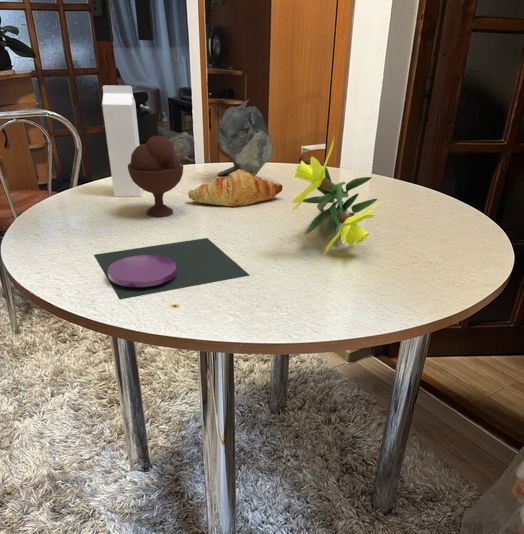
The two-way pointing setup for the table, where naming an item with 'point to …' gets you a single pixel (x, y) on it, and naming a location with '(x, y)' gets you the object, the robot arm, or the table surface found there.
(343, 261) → the table surface
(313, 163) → the daffodil flowers
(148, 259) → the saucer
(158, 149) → the ice cream bowl
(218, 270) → the placemat
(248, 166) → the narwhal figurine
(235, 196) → the croissant
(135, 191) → the milk
